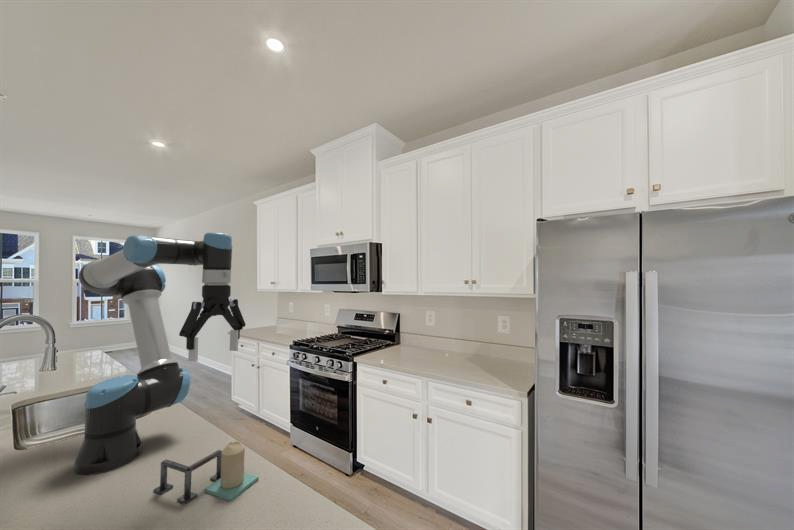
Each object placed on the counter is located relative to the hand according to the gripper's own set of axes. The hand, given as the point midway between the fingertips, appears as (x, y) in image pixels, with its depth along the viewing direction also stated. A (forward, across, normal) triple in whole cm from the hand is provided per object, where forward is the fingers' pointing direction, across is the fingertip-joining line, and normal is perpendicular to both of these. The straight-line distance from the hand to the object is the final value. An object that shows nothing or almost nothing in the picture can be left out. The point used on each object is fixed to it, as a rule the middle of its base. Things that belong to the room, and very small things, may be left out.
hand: (214, 355), depth 96 cm
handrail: (+32, -8, -3) cm, 33 cm away
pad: (+32, -5, -14) cm, 35 cm away
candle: (+31, -5, -14) cm, 34 cm away
